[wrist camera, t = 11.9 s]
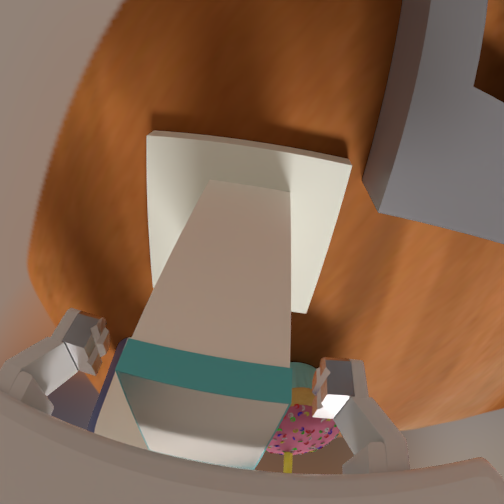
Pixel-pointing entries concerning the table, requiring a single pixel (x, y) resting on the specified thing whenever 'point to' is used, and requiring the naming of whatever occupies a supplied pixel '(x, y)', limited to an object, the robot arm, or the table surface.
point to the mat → (249, 173)
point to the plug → (217, 332)
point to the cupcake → (301, 420)
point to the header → (439, 125)
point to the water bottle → (115, 410)
